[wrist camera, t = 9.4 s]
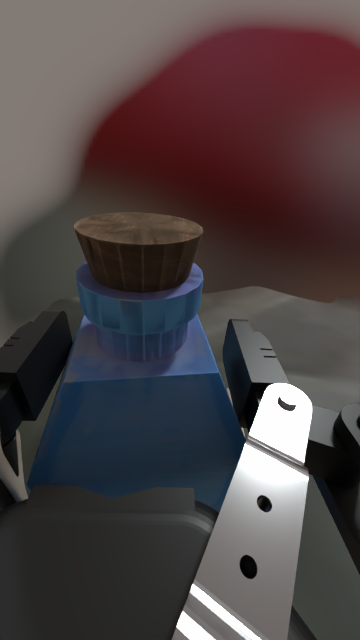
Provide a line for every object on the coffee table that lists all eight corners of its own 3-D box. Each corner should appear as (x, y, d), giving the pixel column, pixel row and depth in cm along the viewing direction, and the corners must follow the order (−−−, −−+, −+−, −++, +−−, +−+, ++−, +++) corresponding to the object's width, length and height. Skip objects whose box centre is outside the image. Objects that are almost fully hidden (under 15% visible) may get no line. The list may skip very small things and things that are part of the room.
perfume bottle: (220, 534, 11) (328, 274, 4) (68, 559, 10) (-92, 275, 3) (193, 412, 16) (223, 207, 9) (91, 420, 15) (45, 199, 8)
